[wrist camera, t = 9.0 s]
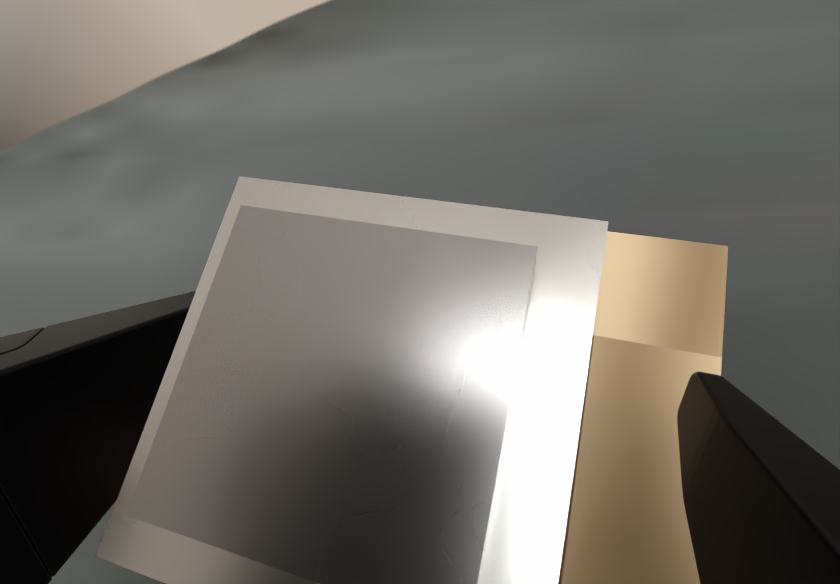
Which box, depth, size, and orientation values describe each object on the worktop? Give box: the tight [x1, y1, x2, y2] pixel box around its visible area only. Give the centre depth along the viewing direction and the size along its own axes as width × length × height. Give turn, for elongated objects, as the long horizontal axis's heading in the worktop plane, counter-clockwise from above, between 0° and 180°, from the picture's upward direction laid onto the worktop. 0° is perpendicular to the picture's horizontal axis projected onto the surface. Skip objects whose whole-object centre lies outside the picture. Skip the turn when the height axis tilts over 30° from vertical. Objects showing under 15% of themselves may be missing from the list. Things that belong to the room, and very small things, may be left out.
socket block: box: [558, 231, 728, 584], centre depth 16 cm, size 14×14×4 cm
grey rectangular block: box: [96, 176, 608, 584], centre depth 11 cm, size 4×4×14 cm
